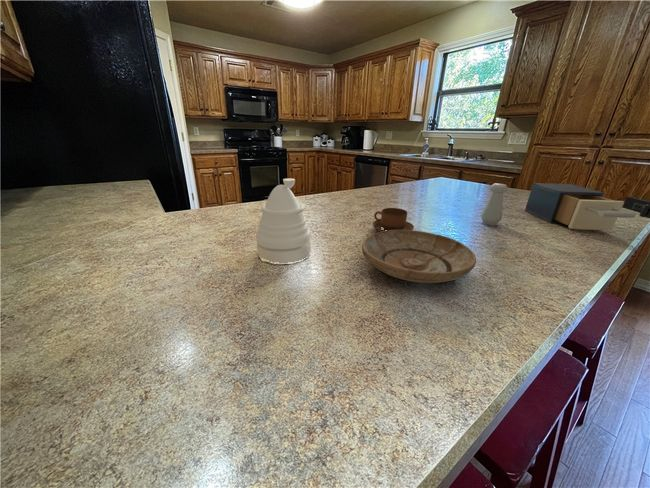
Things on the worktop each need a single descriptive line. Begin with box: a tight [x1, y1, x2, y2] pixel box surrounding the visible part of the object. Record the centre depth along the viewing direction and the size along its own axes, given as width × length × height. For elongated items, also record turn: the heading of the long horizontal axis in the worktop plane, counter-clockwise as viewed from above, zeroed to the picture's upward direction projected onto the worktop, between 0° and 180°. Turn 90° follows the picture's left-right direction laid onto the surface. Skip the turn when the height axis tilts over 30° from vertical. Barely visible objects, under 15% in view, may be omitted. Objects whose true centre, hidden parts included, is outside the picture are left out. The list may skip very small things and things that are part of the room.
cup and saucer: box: [372, 207, 415, 232], centre depth 80 cm, size 12×12×6 cm
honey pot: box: [256, 177, 312, 263], centre depth 62 cm, size 13×13×18 cm
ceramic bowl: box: [361, 229, 477, 284], centre depth 59 cm, size 23×24×5 cm
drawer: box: [554, 194, 637, 231], centre depth 83 cm, size 20×11×9 cm, turn 174°
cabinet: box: [524, 182, 605, 224], centre depth 93 cm, size 15×13×11 cm
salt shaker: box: [480, 182, 508, 227], centre depth 85 cm, size 6×6×13 cm
